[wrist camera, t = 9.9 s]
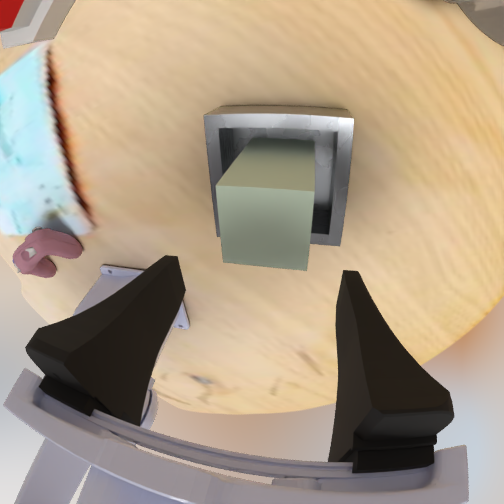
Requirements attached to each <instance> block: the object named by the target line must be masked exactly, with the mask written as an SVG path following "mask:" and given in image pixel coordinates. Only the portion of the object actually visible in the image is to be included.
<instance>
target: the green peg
mask: <svg viewBox="0 0 504 504" xmlns="http://www.w3.org/2000/svg"><path fill="white" fill-rule="evenodd" d="M314 193H315V141H312V140H299V139H281V138H254V137H253V138H252V139H251V140H250V141H249V143H248V144H247V145H246V147H245V148H244V149H243V150H242V152H241V153H240V154H239V155H238V157H237V158H236V159H235V161H234V162H233V163H232V165H231V166H230V167H229V168H228V170H227V171H226V172H225V174H224V175H223V176H222V178H221V179H220V180H219V182H218V183H217V184H216V196H217V207H218V217H219V227H220V237H221V246H222V256H223V262H225V263H234V264H244V265H253V266H263V267H273V268H283V269H293V270H303V271H307V265H308V256H309V247H310V237H311V227H312V216H313V205H314Z"/></svg>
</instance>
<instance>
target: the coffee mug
mask: <svg viewBox="0 0 504 504" xmlns="http://www.w3.org/2000/svg"><path fill="white" fill-rule="evenodd" d="M443 1H445V2H448V3H457V4H458V5H459V6H460V8H461V9H462V10H463V12H464V13H465V14H466V16H467V17H468V18H469V19H470V20H471V21H472V22H473V23H474V24H475V25H476V27H478V28H479V29H480V30H481V31H482V32H483V33H484V34H485V35H487V36H488V37H489V38H491V39H492V40H493V41H495V42H497V43H498V44H500V45H502V46H504V0H443Z"/></svg>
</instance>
